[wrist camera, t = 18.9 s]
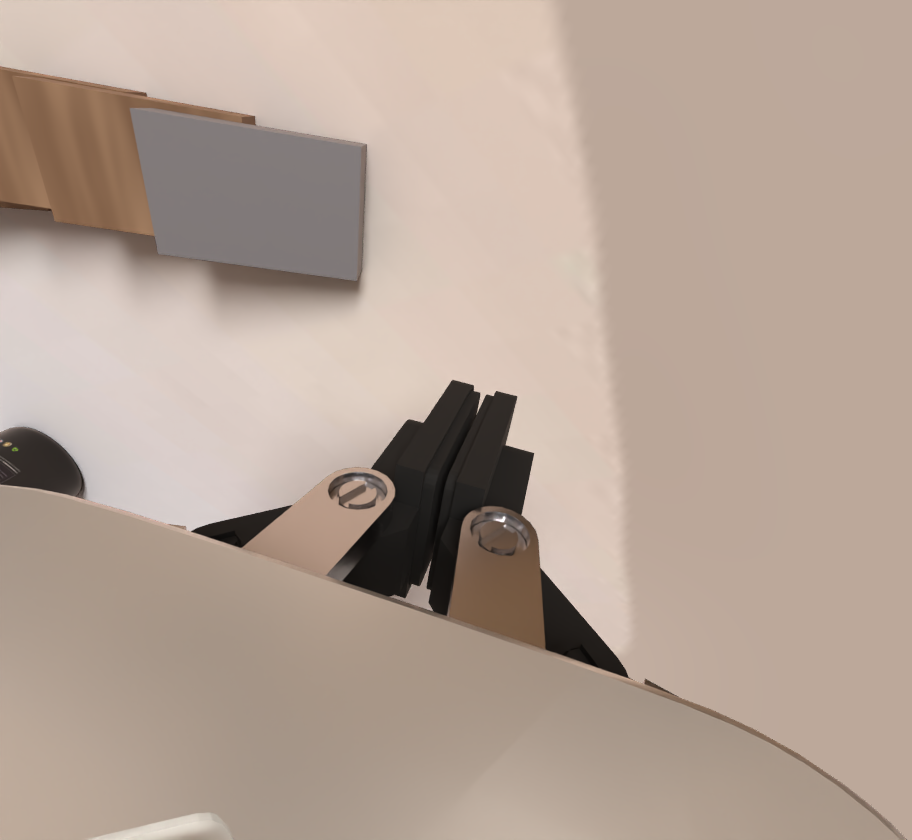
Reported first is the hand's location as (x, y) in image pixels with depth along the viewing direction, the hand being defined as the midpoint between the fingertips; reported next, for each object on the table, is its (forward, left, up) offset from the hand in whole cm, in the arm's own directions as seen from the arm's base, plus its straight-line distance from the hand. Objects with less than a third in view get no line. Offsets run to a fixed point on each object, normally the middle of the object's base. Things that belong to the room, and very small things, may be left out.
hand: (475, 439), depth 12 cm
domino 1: (+3, +13, -9) cm, 16 cm away
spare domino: (+3, +8, -9) cm, 12 cm away
